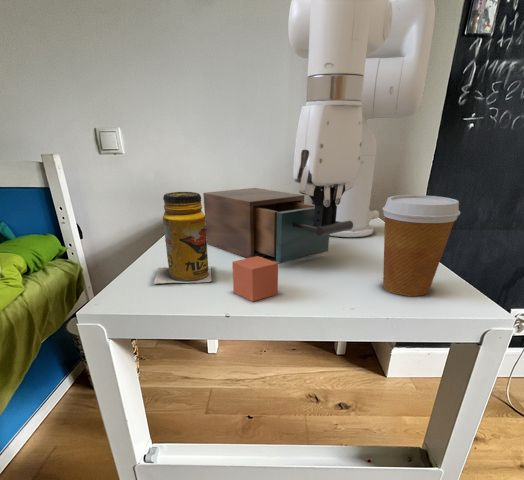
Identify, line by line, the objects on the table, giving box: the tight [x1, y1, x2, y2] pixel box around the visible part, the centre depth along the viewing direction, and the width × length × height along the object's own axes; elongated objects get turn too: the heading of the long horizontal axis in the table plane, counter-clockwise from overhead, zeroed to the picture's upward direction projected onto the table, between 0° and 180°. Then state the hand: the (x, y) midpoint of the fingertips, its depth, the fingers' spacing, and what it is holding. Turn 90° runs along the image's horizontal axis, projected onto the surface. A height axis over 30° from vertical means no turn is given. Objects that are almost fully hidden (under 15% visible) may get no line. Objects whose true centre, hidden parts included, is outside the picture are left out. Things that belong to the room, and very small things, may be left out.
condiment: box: [152, 191, 212, 285], centre depth 57 cm, size 7×8×12 cm
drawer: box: [253, 201, 353, 264], centre depth 67 cm, size 20×11×8 cm, turn 39°
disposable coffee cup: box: [382, 194, 461, 297], centre depth 53 cm, size 10×10×12 cm
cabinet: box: [202, 187, 305, 259], centre depth 74 cm, size 15×13×10 cm
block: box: [232, 256, 279, 302], centre depth 53 cm, size 4×4×4 cm
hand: (323, 231), depth 62 cm, fingers closed
